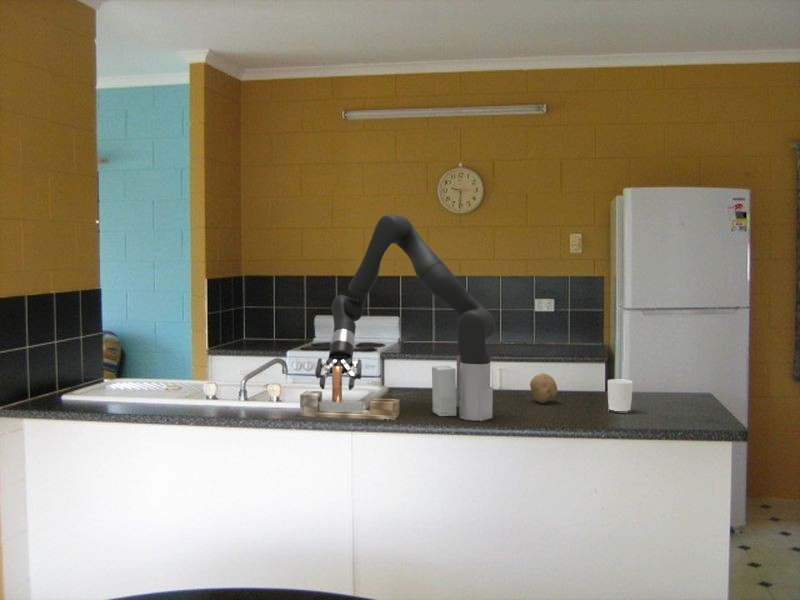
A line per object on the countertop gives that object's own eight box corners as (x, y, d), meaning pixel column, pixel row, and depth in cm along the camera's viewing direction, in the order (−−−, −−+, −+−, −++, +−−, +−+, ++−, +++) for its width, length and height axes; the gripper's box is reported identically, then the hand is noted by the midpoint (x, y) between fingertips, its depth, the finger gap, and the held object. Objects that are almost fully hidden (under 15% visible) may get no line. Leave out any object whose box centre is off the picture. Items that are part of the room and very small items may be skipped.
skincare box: (456, 416, 252) (457, 368, 251) (438, 416, 250) (438, 369, 250) (449, 410, 260) (449, 364, 259) (430, 411, 259) (431, 365, 258)
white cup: (615, 408, 267) (615, 378, 266) (636, 412, 261) (637, 381, 260) (602, 411, 261) (602, 380, 261) (624, 415, 256) (624, 383, 255)
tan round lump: (549, 399, 281) (549, 371, 280) (562, 404, 273) (562, 375, 272) (525, 401, 278) (526, 372, 278) (537, 405, 270) (538, 376, 269)
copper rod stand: (363, 411, 252) (363, 366, 251) (361, 413, 249) (361, 367, 248) (312, 409, 254) (313, 364, 253) (310, 411, 251) (310, 366, 250)
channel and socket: (399, 414, 253) (399, 393, 253) (396, 419, 245) (396, 398, 245) (305, 411, 257) (305, 390, 257) (298, 416, 249) (298, 394, 249)
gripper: (318, 339, 258) (311, 380, 247) (363, 339, 257) (358, 381, 246) (321, 353, 264) (315, 394, 253) (365, 354, 263) (360, 395, 252)
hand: (336, 388), depth 250 cm, fingers open, 8 cm apart
